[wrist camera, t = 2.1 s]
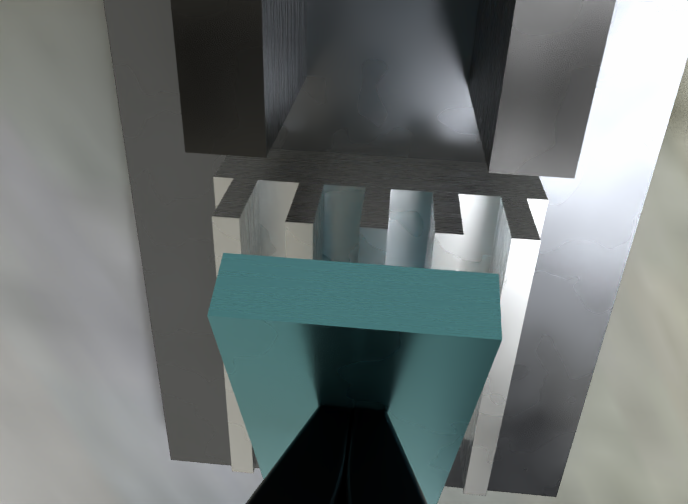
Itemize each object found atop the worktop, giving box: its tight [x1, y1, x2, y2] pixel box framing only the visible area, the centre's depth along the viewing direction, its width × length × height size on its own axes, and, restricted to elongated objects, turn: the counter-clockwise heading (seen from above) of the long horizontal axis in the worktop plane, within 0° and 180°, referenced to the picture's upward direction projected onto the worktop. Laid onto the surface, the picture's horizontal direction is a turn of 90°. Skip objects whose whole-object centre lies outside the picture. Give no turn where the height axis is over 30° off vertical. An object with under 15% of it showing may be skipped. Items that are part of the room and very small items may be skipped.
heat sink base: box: [103, 0, 688, 497], centre depth 17 cm, size 18×14×7 cm
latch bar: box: [207, 253, 502, 504], centre depth 13 cm, size 16×3×1 cm, turn 178°
